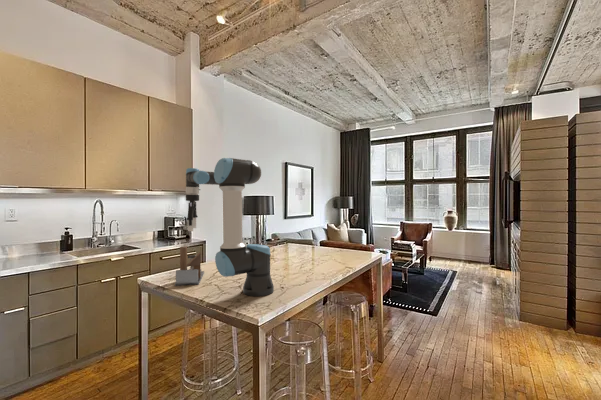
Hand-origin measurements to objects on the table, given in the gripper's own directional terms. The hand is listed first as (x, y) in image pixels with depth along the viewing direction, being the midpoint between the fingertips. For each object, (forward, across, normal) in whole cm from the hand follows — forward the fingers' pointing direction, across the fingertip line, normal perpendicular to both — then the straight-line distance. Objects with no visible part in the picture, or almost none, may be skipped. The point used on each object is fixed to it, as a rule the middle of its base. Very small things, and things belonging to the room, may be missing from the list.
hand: (192, 229), depth 169 cm
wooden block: (+26, -12, -1) cm, 29 cm away
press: (+27, -10, -1) cm, 29 cm away
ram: (+26, -1, -1) cm, 26 cm away
